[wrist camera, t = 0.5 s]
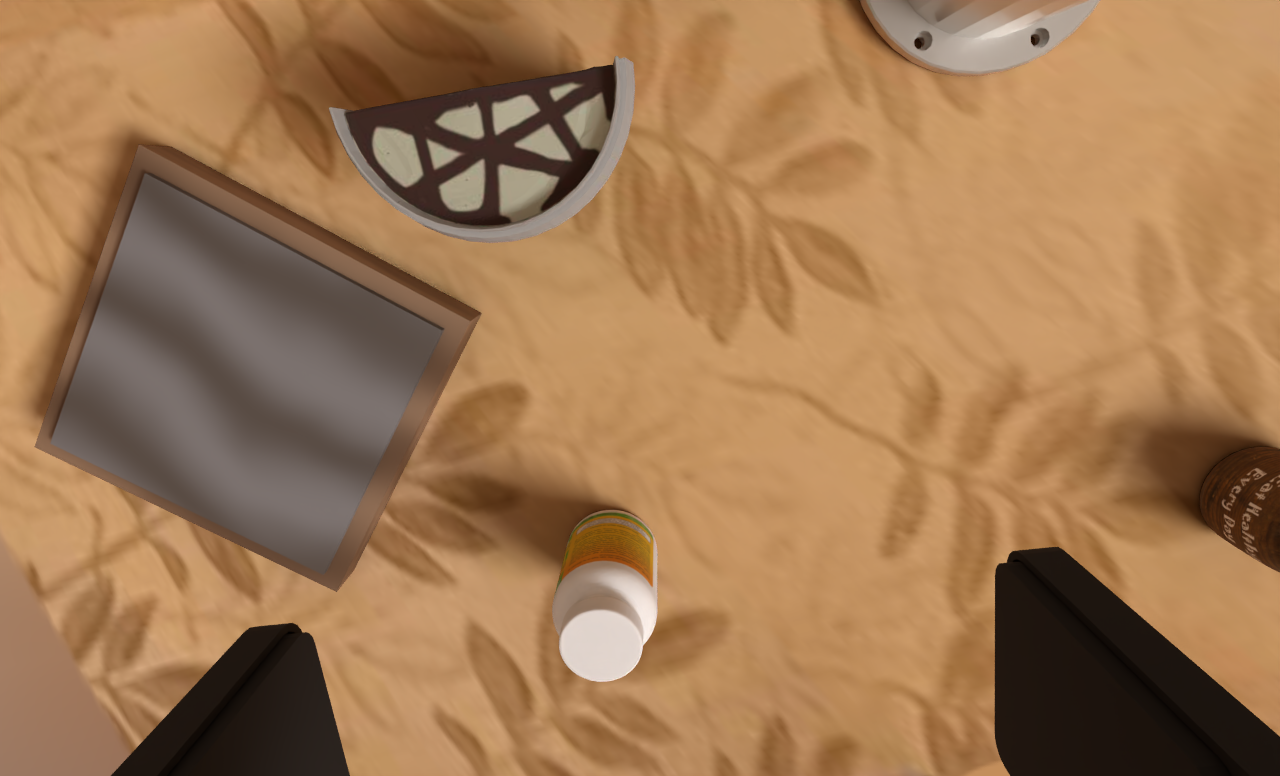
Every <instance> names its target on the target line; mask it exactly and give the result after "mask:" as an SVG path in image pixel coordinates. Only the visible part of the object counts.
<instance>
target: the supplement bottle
mask: <svg viewBox="0 0 1280 776" xmlns="http://www.w3.org/2000/svg"><path fill="white" fill-rule="evenodd" d="M657 575H658V554H657V545H656V541H655V538H654V536H653V534H652V532H651V530H650V529H649V528H648V526H647V525H646V524H645V523H644V522H643V521H642V520H640V519H639V518H637V517H636V516H634V515H632V514H630V513H628V512H624V511H620V510H603V511H599V512H595V513H593V514H590V515H589V516H587V517H585V518H584V519H583V520H581V521H580V522H579V523H578V524H577V525H576V526H575V528H574V529H573V531H572V533H571V535H570V537H569V540H568V543H567V547H566V551H565V555H564V560H563V564H562V568H561V572H560V576H559V580H558V584H557V588H556V592H555V596H554V600H553V608H552V614H553V622H554V625H555V628H556V630H557V632H558V634H559V636H560V637H559V649H560V654H561V656H562V658H563V660H564V662H565V664H566V665H567V666H568V667H569V668H570V669H571V670H572V671H573V672H574V673H576V674H577V675H579V676H581V677H583V678H585V679H588V680H592V681H599V682H605V681H612V680H616V679H618V678H621V677H623V676H625V675H626V674H628V673H629V672H630V671H631V670H632V669H633V668H634V667H635V666H636V665H637V663H638V661H639V659H640V657H641V654H642V648H643V645H644V644H645V643H646V641H647V640H648V639H649V637H650V636H651V634H652V632H653V630H654V627H655V624H656V618H657V607H658V599H657Z"/></svg>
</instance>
